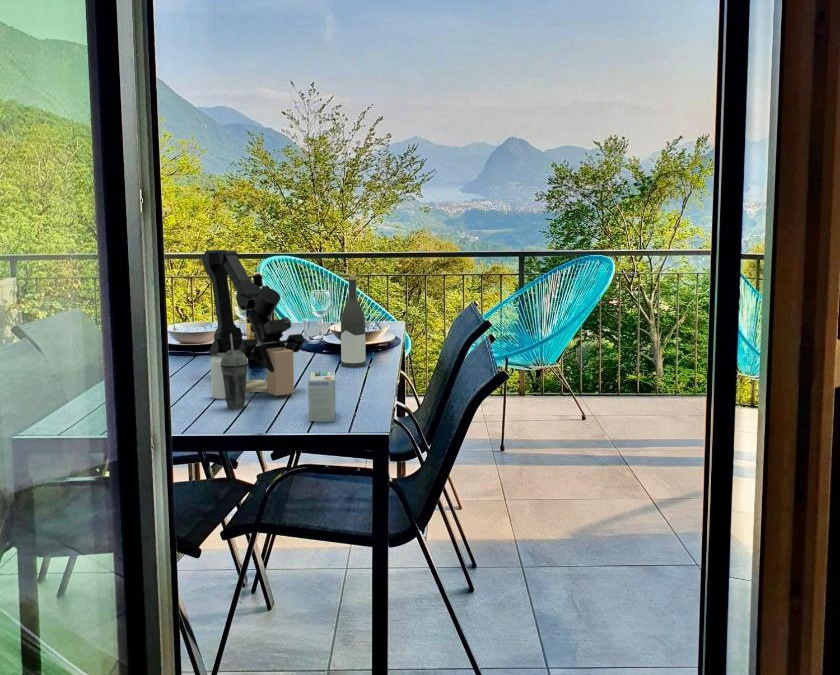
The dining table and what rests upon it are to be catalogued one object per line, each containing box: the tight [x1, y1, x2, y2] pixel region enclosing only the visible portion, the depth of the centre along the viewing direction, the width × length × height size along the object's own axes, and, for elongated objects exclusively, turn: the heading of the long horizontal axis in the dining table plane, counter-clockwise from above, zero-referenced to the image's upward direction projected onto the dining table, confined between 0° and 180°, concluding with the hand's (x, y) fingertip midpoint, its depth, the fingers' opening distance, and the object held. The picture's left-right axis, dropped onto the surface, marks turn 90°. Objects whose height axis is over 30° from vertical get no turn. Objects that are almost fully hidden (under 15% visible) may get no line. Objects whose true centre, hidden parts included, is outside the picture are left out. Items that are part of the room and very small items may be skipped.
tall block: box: [265, 348, 295, 397], centre depth 244 cm, size 6×6×12 cm
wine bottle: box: [340, 274, 367, 369], centre depth 287 cm, size 8×8×30 cm
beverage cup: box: [220, 334, 249, 410], centre depth 231 cm, size 7×7×20 cm
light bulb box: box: [307, 371, 336, 423], centre depth 222 cm, size 11×7×11 cm, turn 5°
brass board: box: [246, 378, 269, 394], centre depth 255 cm, size 11×11×1 cm
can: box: [210, 353, 226, 400], centre depth 243 cm, size 6×6×12 cm
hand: (282, 370), depth 243 cm, fingers closed on tall block, 5 cm apart
